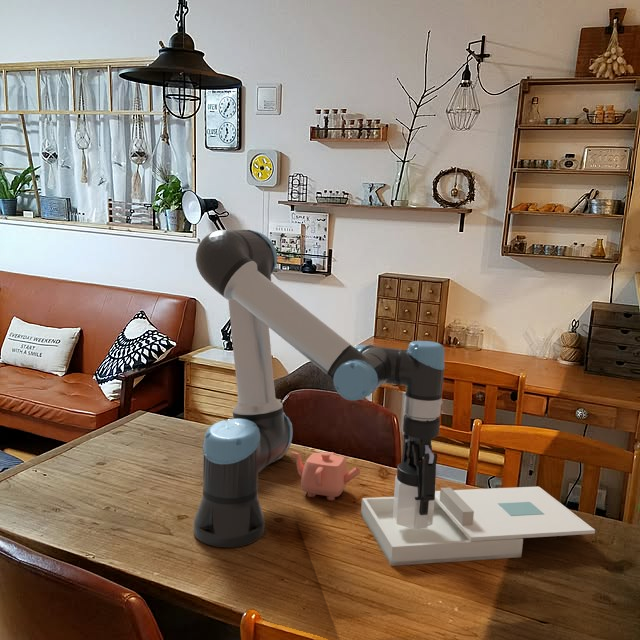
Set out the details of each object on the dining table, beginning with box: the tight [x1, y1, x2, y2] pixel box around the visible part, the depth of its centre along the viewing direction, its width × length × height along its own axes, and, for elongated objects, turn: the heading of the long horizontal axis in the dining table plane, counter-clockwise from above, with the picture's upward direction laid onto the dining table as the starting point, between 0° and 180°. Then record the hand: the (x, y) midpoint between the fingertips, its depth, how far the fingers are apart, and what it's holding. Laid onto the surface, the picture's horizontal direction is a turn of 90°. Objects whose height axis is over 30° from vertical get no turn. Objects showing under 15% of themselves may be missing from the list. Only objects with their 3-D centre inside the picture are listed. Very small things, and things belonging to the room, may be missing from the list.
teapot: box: [289, 450, 361, 501], centre depth 157 cm, size 14×12×10 cm
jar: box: [393, 461, 437, 530], centre depth 138 cm, size 9×8×12 cm
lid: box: [435, 486, 596, 541], centre depth 142 cm, size 28×22×4 cm
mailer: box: [360, 496, 524, 567], centre depth 139 cm, size 28×22×4 cm
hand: (414, 519), depth 138 cm, fingers closed on jar, 7 cm apart
